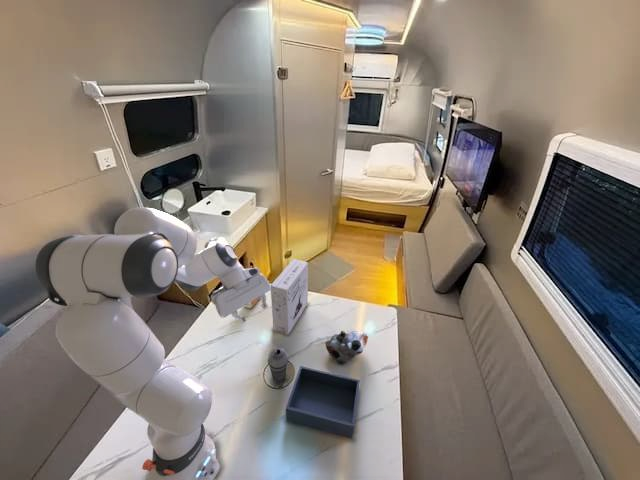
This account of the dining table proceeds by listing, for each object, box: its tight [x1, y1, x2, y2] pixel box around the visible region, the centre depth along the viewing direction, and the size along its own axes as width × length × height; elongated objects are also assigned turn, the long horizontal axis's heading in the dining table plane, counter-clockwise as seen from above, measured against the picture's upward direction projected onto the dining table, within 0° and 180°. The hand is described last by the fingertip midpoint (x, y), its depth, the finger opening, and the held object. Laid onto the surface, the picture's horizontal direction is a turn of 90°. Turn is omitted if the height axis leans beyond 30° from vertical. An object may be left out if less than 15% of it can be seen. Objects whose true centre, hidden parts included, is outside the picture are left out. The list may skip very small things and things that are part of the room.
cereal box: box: [270, 258, 309, 335], centre depth 124 cm, size 22×8×25 cm, turn 159°
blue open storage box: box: [285, 365, 361, 440], centre depth 92 cm, size 16×22×7 cm
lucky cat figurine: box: [325, 330, 369, 364], centre depth 110 cm, size 15×12×14 cm
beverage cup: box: [267, 341, 289, 387], centre depth 96 cm, size 7×7×20 cm
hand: (255, 314), depth 95 cm, fingers open, 8 cm apart
